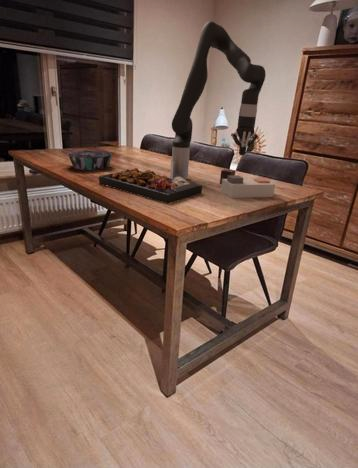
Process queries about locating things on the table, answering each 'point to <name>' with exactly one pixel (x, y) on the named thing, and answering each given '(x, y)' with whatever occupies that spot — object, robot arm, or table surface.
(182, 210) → the table surface
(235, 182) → the charcoal key
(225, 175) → the box
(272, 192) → the key panel
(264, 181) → the terracotta key
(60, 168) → the table surface
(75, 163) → the decorative bowl
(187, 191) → the food platter
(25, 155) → the table surface
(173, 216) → the table surface
